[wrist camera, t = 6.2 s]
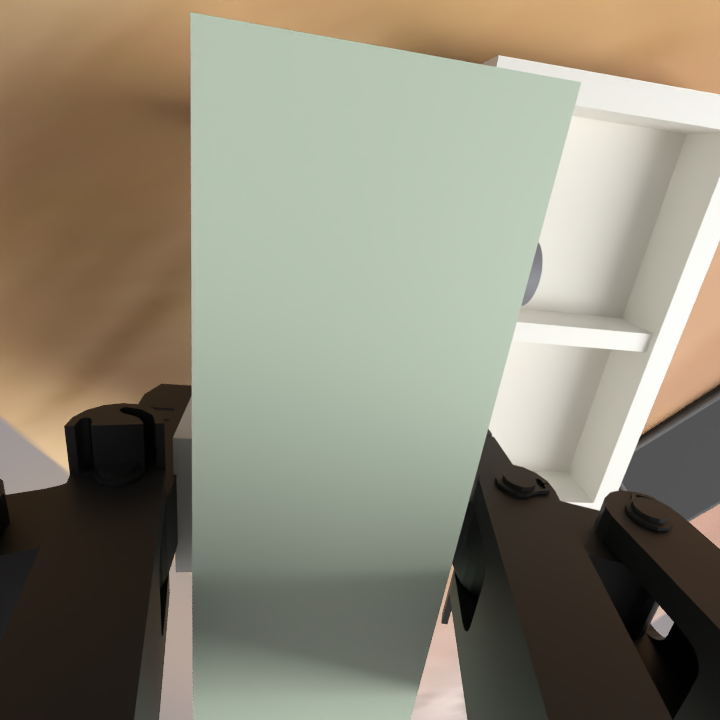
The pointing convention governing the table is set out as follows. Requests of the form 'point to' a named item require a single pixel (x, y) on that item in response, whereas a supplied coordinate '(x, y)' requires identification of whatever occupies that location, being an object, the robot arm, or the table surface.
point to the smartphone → (681, 459)
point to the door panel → (346, 349)
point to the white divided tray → (610, 278)
